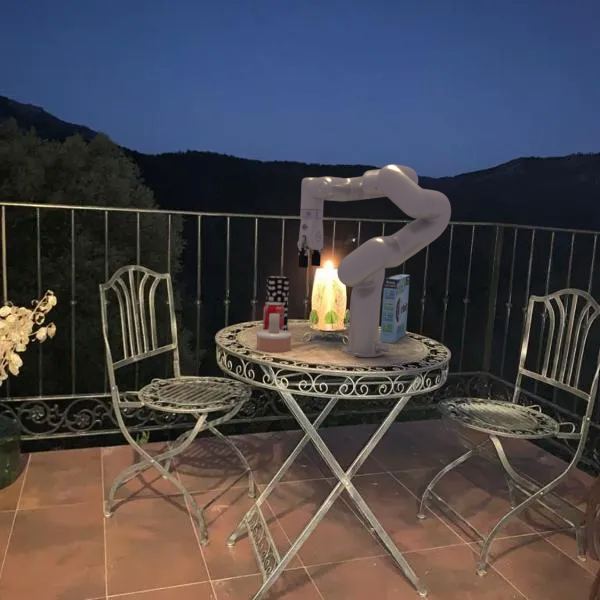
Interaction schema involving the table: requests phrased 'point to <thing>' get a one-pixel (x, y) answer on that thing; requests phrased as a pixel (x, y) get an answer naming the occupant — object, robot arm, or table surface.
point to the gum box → (394, 308)
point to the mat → (303, 345)
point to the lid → (274, 329)
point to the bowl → (273, 344)
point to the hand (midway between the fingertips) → (309, 266)
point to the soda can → (273, 308)
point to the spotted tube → (279, 293)
